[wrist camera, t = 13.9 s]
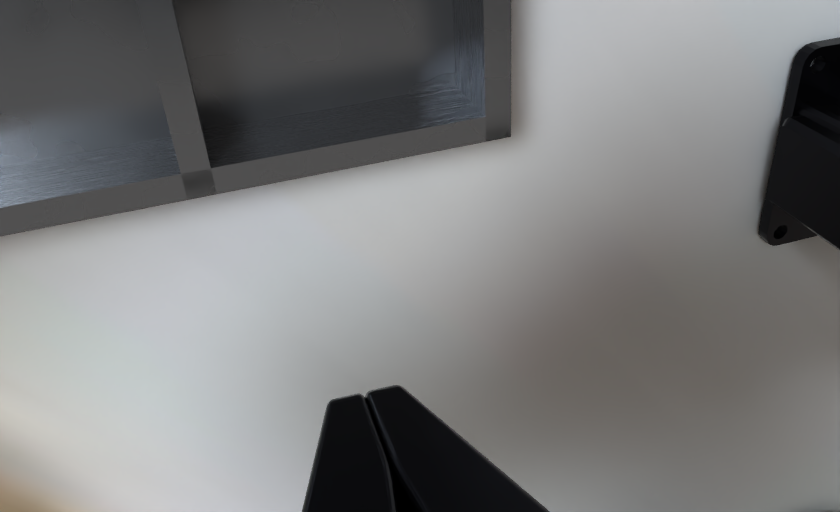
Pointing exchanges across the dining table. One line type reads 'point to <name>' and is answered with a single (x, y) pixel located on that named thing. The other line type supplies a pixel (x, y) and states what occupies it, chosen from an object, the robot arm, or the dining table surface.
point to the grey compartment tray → (232, 95)
